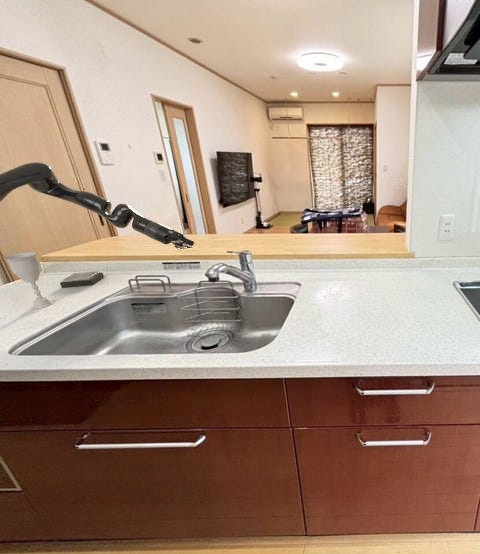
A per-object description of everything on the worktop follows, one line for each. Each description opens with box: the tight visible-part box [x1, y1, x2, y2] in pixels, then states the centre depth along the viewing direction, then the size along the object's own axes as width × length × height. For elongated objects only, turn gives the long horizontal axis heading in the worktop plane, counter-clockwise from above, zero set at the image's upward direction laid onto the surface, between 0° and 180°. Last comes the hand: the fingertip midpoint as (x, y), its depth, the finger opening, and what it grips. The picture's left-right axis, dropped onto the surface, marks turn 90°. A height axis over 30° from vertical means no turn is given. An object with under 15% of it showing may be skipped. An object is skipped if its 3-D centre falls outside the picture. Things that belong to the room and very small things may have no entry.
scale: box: [59, 270, 105, 289], centre depth 120 cm, size 10×9×3 cm
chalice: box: [2, 251, 54, 309], centre depth 99 cm, size 7×7×18 cm
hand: (195, 248), depth 134 cm, fingers open, 8 cm apart
